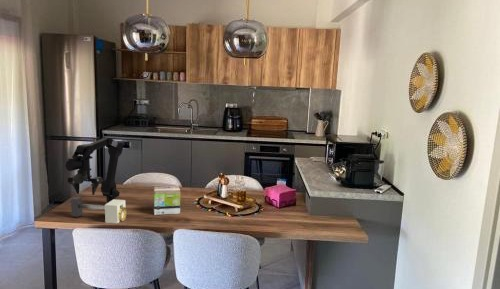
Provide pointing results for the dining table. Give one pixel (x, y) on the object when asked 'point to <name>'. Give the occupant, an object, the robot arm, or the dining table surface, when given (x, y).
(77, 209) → the shaft
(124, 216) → the spacer
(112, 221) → the bearing block
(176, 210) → the tea box
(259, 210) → the dining table surface
